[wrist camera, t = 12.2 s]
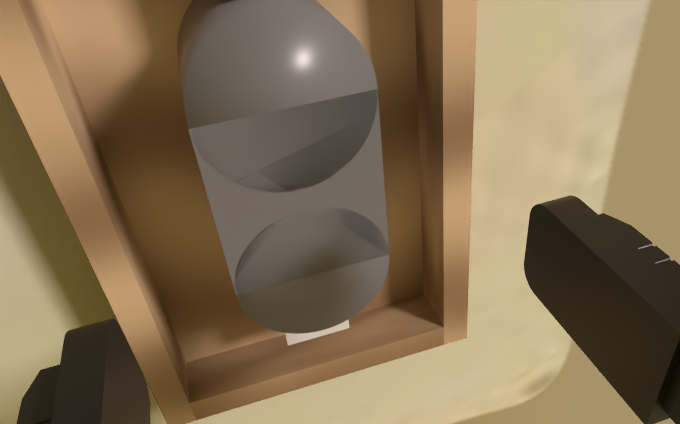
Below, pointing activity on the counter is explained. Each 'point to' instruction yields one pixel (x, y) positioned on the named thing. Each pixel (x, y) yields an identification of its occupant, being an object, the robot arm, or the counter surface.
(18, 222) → the counter surface
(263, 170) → the gray bottle
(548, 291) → the robot arm
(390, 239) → the oak tray
